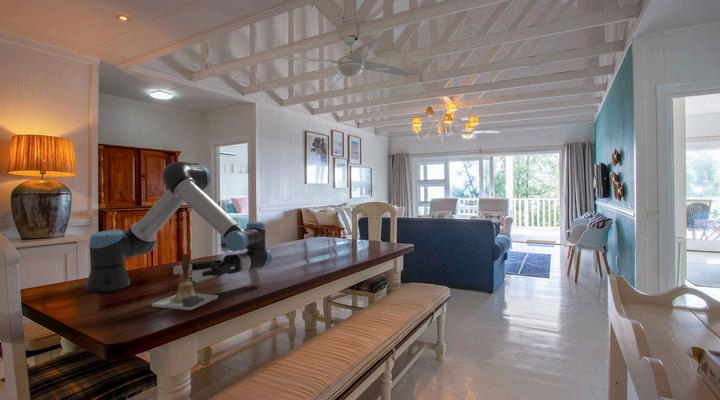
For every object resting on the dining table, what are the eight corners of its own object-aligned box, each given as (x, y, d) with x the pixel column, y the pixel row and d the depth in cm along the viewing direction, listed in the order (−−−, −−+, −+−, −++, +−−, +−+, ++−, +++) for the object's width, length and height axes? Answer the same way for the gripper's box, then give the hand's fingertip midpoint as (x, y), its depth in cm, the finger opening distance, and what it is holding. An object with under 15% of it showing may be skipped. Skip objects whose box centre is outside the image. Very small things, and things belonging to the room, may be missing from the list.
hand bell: (182, 295, 132) (181, 252, 132) (203, 295, 131) (202, 252, 130) (167, 301, 124) (166, 256, 123) (189, 302, 123) (188, 256, 122)
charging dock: (151, 306, 123) (151, 296, 123) (182, 295, 136) (182, 286, 136) (190, 310, 118) (190, 300, 118) (218, 297, 132) (217, 288, 132)
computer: (195, 286, 151) (195, 278, 151) (180, 285, 153) (180, 277, 153) (220, 277, 166) (220, 270, 166) (205, 276, 168) (205, 269, 168)
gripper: (255, 276, 135) (201, 289, 118) (219, 268, 150) (167, 278, 134) (254, 257, 135) (200, 266, 118) (219, 250, 150) (166, 258, 134)
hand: (182, 273), depth 126 cm, fingers open, 13 cm apart
